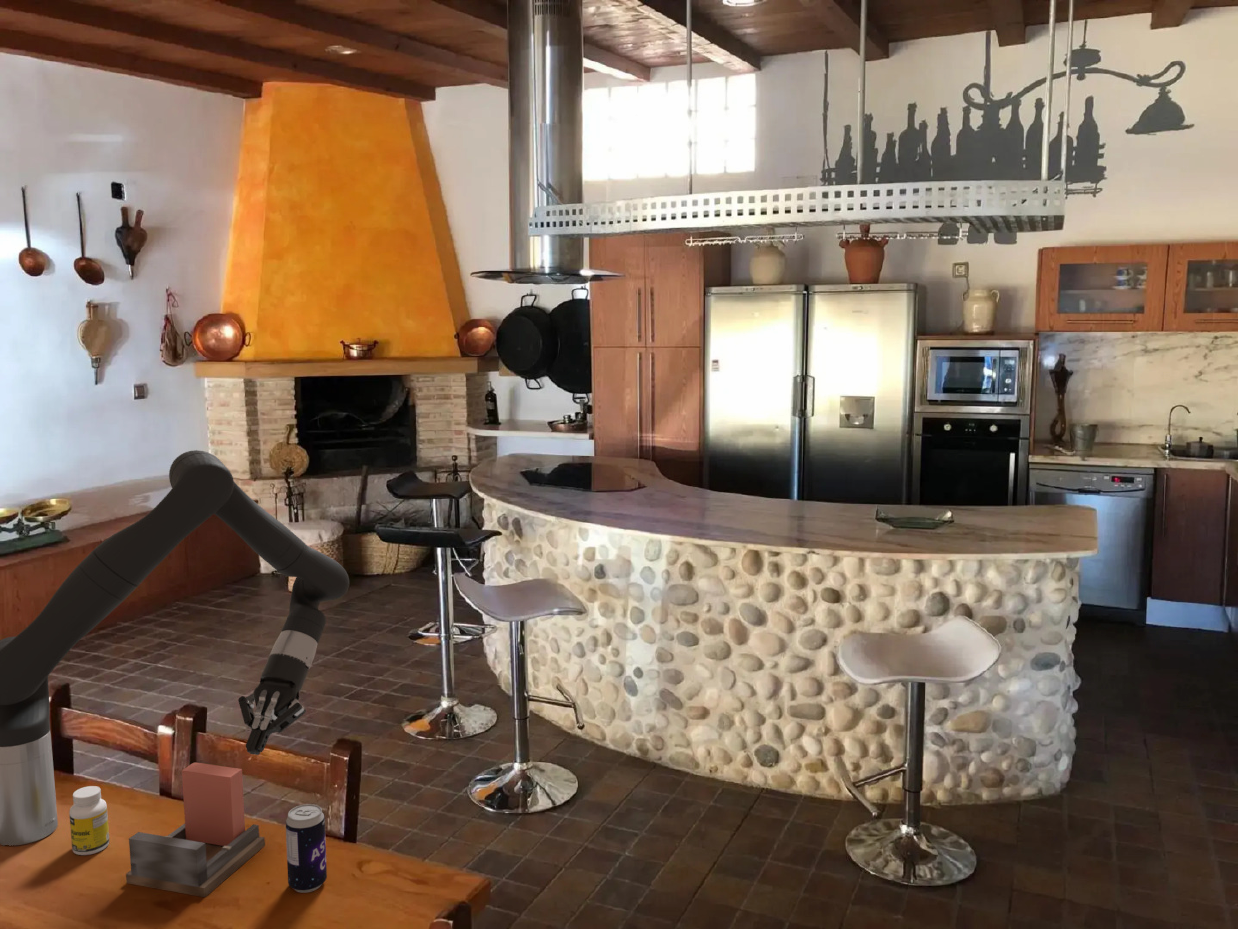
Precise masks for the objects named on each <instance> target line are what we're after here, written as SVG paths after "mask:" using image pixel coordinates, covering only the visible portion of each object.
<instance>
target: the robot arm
mask: <svg viewBox="0 0 1238 929" xmlns="http://www.w3.org/2000/svg"><path fill="white" fill-rule="evenodd" d="M168 472H169V474H168V479H169V484H170V486H171V490H170V491H169V492H168V493H167V494H166V495H165V496H164V497H163V498H162V499H161V501H160V502H159V503H157V505H155V507H154V508H153V509H152V510H151V511H150V512H149V513H147V514H146V515H145V516H144V517H141V519H139V520H137V521H135V522H134V523H132V524H131V525H128V526H127V527H125V528H123V529H121V530H119V531H118V532H115V533H114V534H112V535H110V536H109V537H108V538H106V539H104V540H103V541H102V542H100V543H99V544H98V545H97V546H96V547H95V548H94V549H93V550H92V551H91V552H90V553H89V554H88V555H86V557H84V559H83V560H82V561H81V562H79V564H78V565H77V566H76V567H75V568H74V569H73V570H72V572H70V574H69V575H68V576H67V577H66V578H65V579H64V581H63V582H62V583H61V585H60V586H59V587H58V588H57V590H56V591H55V593H54V594H53V596H52V597H51V598H50V599H49V601H48V603H47V604H46V605H45V606H44V608H43V609H42V610H41V612H39V614H38V615H37V617H35V619H34V620H33V621H32V622H31V623H30V624H29V625H28V626H26V627H25V628H24V629H23V630H22V631H21V632H19V634H17V635H16V636H9V637H5V638H3V639H0V844H1V845H0V846H5V845H9V846H11V845H12V846H13V845H14V846H21V845H27V844H31V843H34V842H38V841H39V840H42V839H45V837H48V836H50V835H51V834H53V833H54V831H56V829H57V828H58V826H59V825H58V823H59V822H58V821H59V820H58V809H57V798H56V797H57V795H56V786H55V784H56V783H55V772H54V760H53V748H52V735H51V721H50V715H51V714H50V713H51V712H50V711H51V710H50V708H51V707H50V705H51V704H50V702H51V701H50V690H49V676H50V674H51V673H52V671H53V670H54V669H55V668H56V667H57V665H58V664H59V663H60V662H61V661H62V659H63V658H64V657H65V656H66V655H67V653H69V651H71V649H72V648H73V647H74V646H75V645H76V644H78V642H80V641H81V640H82V639H83V638H84V637H85V636H87V634H88V633H90V632H91V631H92V630H94V628H96V627H97V626H98V625H100V623H101V622H102V621H103V620H104V619H106V618H107V617H108V616H109V615H110V614H111V613H112V612H113V611H114V610H115V609H116V608H118V606H119V605H121V604H122V602H124V601H125V600H126V599H127V598H128V597H129V596H130V595H131V594H132V593H133V592H134V591H135V590H136V589H137V588H138V587H139V586H140V584H142V583H143V582H144V580H145V579H147V577H148V576H149V575H150V574H151V573H152V572H153V571H154V570H155V569H156V568H157V566H159V565H160V564H161V563H162V562H163V561H164V559H166V558H167V557H168V555H169V554H171V553H172V551H173V550H174V549H175V548H176V547H177V546H178V545H179V544H180V543H181V542H182V541H184V539H185V538H187V537H188V536H189V535H190V534H191V533H192V532H194V531H195V530H196V529H197V528H199V527H200V526H201V525H202V524H203V523H204V522H205V521H207V520H208V519H210V517H212V516H213V515H215V516H217V518H218V519H220V520H221V521H223V523H224V524H226V525H227V526H228V527H229V528H231V529H232V531H234V533H236V535H237V536H238V537H240V539H242V540H243V542H245V543H246V544H247V546H248V547H249V548H251V549H252V551H254V553H256V555H257V556H259V557H260V558H262V560H263V561H264V562H265V563H267V564H268V565H270V566H271V567H272V568H274V570H276V572H278V573H280V574H281V575H283V576H286V577H289V578H291V577H292V578H295V579H294V581H293V584H292V589H291V595H290V602H289V611H288V615H287V618H285V619H286V620H285V621H284V624H283V626H282V629H281V632H280V634H279V635H278V637H277V639H276V640H275V642H274V645H273V647H272V649H271V651H270V653H269V656H268V658H267V660H266V663H265V665H264V668H263V670H262V672H261V675H260V679H259V684H258V685H257V686H256V687H255V688H254V689H253V693H251V694H250V695H248V696H246V697H245V696H243V695H241V696H240V697H239V698H238V705H239V708H240V712H241V715H242V719H243V722H244V724H245V725H246V726H247V727H248V728H250V729H251V730H250V731H251V732H250V734H249V736H248V739H247V740H246V743H245V748H246V752H247V753H248V754H250V755H255V756H256V755H257V756H259V755H260V754H261V753H262V752H264V750H265V747H266V745H267V742H268V740H269V737H270V736H271V735H272V734H275V733H278V734H281V733H282V732H283V731H285V730H286V729H287V728H288V727H290V726H291V725H292V724H293V723H295V722H296V721H297V720H298V719H299V718H301V717H302V716H304V714H306V712H307V709H306V708H305V706H304V705H302V704H301V703H300V702H299V700H300V692H301V691H302V689H303V686H304V684H305V682H306V679H307V677H308V674H309V671H310V669H311V666H312V664H313V661H314V659H315V656H316V653H317V647H318V644H319V642H320V639H321V638H322V635H323V632H324V630H325V626H326V622H327V617H326V615H325V614H324V612H323V611H321V609H319V606H320V604H321V603H323V602H328V601H334V600H338V599H340V598H342V597H344V596H345V595H346V594H347V592H348V590H349V589H350V588H349V587H350V578H349V574H348V573H347V570H346V569H345V568H344V567H343V566H342V565H341V563H339V562H338V561H337V560H336V559H333V558H332V557H330V556H328V555H326V554H324V553H322V552H320V551H319V550H317V549H315V548H313V547H310V545H307V544H306V542H304V541H303V540H302V539H301V538H300V537H299V536H298V535H296V534H295V532H293V531H291V529H290V528H289V527H287V526H286V525H284V523H282V522H281V521H279V519H277V518H275V517H274V516H273V515H272V514H270V513H269V512H268V511H266V510H265V509H264V508H263V506H261V505H259V503H257V502H255V500H254V499H252V498H251V497H250V496H249V495H248V494H247V493H246V492H245V491H244V490H243V489H242V488H241V487H240V486H239V485H238V484H237V482H235V480H234V476H233V474H232V473H231V471H230V470H229V468H228V467H227V466H226V465H225V464H224V463H223V461H221V460H220V459H219V457H217V456H216V455H214V454H212V453H210V452H208V451H204V450H197V449H196V450H190V451H189V450H188V451H185V452H183V453H181V454H180V455H178V456H177V457H176V458H175V459H173V462H172V463H171V465H170V468H169V471H168ZM255 706H256V707H255ZM254 709H255V711H254ZM12 846H11V847H12Z"/></svg>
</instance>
